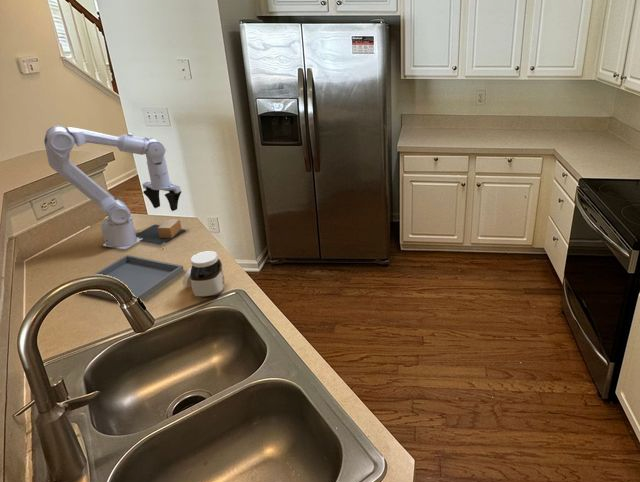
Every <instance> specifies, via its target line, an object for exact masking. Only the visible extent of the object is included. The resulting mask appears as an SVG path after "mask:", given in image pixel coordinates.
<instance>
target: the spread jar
mask: <svg viewBox="0 0 640 482" xmlns="http://www.w3.org/2000/svg"><path fill="white" fill-rule="evenodd" d="M190 263H191V267H190V268H189V269H188V270H187V271H186V273H185V274H184V276H183V278H182V284H183V286H184V287H185V288H188V289H190V288H191V290H192V293H193V295H194V297H196V298H199V299H204V300H205V299H206V300H208V299H212V298H216V297H218V296H219V295H221V294H222V293H223V291H224V289H225V274H224V269H223V264H222V261H221V259H219V258H218V252H216V251H213V250H204V251H200V252H197V253H195V254H194V255H193V256H191V257H190Z"/></svg>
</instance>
